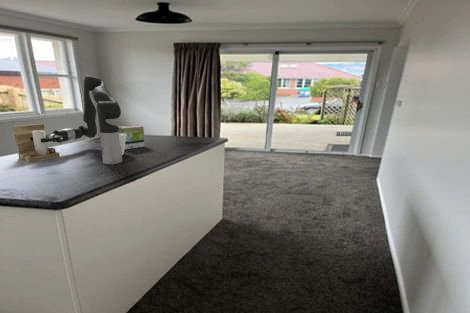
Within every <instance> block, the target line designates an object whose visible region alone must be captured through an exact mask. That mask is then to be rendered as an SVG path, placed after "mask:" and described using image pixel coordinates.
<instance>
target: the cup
mask: <svg viewBox="0 0 470 313" xmlns="http://www.w3.org/2000/svg"><path fill="white" fill-rule="evenodd" d="M119 138H120V146H121V150H122V156H123V155H124V153H125V150H124V148H125V141H126V134H123V133H119Z"/></svg>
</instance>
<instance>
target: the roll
mask: <svg viewBox="0 0 470 313" xmlns="http://www.w3.org/2000/svg"><path fill="white" fill-rule="evenodd" d="M45 134H46V130H45V131H32V135H33V141H34V146H35V152H36V155H47V154H48V148H49V147H48V142H44V143H42V142H41V139H42V138H46V135H45ZM47 147H48V148H47Z"/></svg>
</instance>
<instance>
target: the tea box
mask: <svg viewBox="0 0 470 313" xmlns="http://www.w3.org/2000/svg"><path fill="white" fill-rule="evenodd" d="M117 126H118V128H119V133H123V134H126V141H125V148H124V151H125V150H130V149H137V148H143V147H145V132H144V131H145V128H144V126H141V125H137V124H134V125H121V126H119V125H117Z"/></svg>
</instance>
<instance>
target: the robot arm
mask: <svg viewBox="0 0 470 313" xmlns="http://www.w3.org/2000/svg"><path fill="white" fill-rule="evenodd" d="M90 92H92V93H91V94H90ZM90 95H92V98H93V100H92V98H91V96H90ZM93 101H94V102H95V103H96V106H95V104H94V103H93ZM83 107H84V108H83V119H82V120H83V122H84V123H86V125H83V124H82V125H80V126H77V127H72V128H63V129H62V128H61V129H55V130H53V132H52V133H45V135H46V138H42V139H41V142H42V143H44V142H47V143H65V142H70V141H73V140H79V139H81V138H82V137H87V138H89V139H90V138H91V139H93V138H95V137H96V136H97V133H98V127H97V122H96V120H97V119H96V118H98V125H99V137H100V145H101V154H102V156H101V157H102V163H103V164H104V165H112V166H113V165H116V164H120V163H123V155H122V150H121V146H120V138H119V128H118V126H119V125H115V124H112V123H109V122H107V120H115V119H116V120H117V119H119V118H120V117H121V113H122V111H121V110H122V109H121V107H120V105H119V102H117V101H116V99H115V98H113V97H112V95H111V93H110V91H109V90H108V88H107V87H106V84H105V81H104V79H103V78H100V77H97V76H93V75H85V77H84V78H83ZM30 140H31V141H33V137H30Z"/></svg>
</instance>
